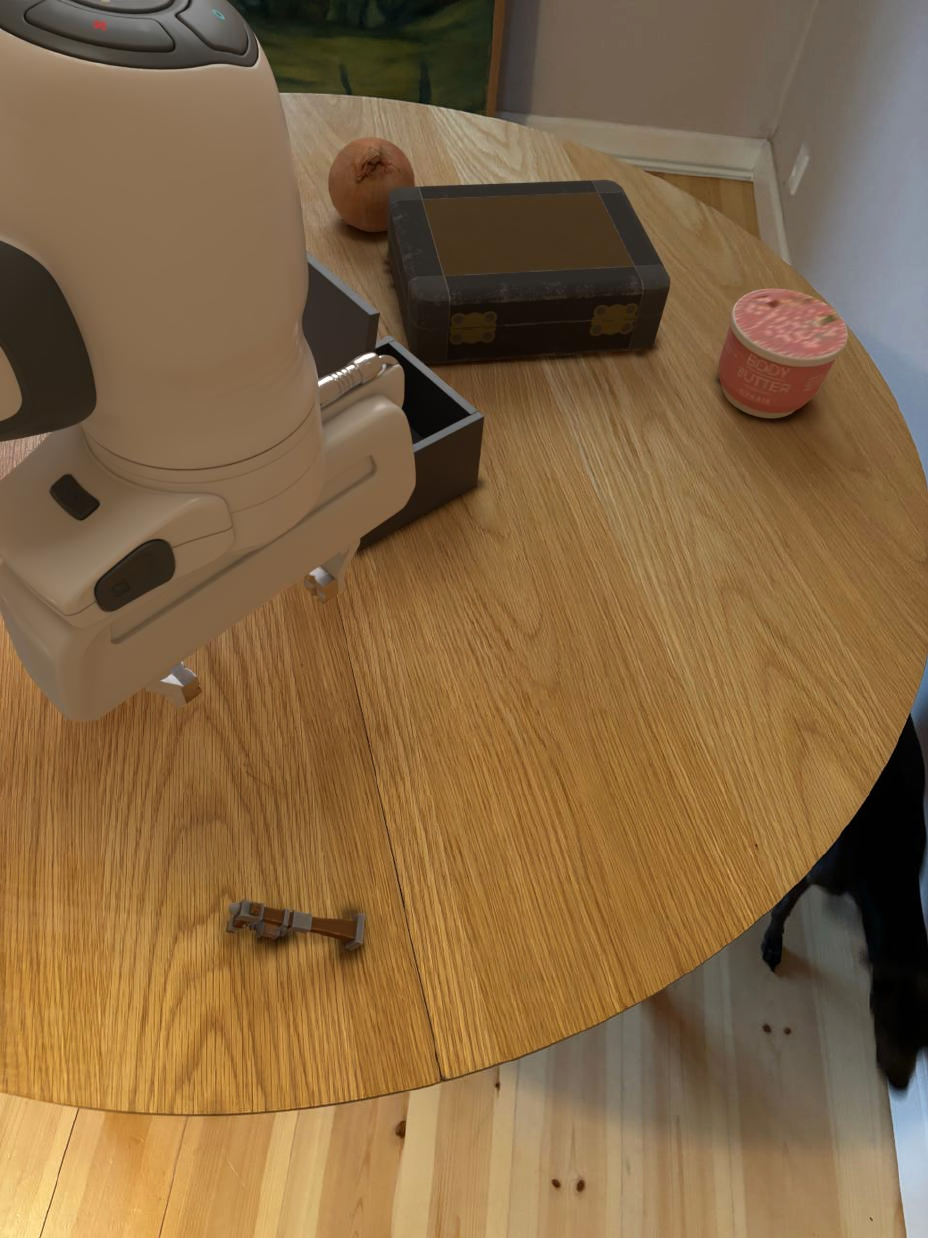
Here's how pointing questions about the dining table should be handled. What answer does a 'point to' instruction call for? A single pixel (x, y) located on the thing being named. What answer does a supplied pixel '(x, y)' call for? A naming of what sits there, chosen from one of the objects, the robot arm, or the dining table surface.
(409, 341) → the jewelry box
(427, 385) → the box
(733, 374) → the container
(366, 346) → the lid
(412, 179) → the onion
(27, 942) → the dining table surface
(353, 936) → the wooden post with brackets
